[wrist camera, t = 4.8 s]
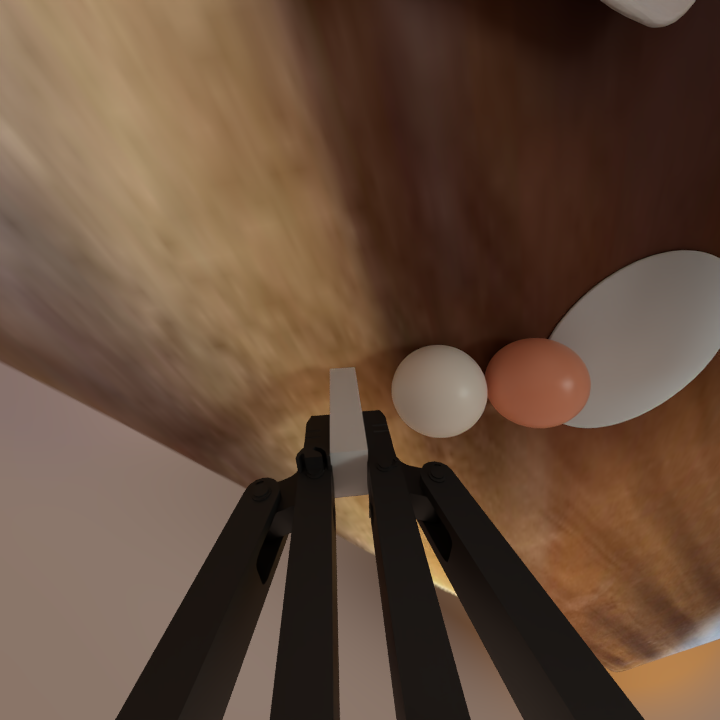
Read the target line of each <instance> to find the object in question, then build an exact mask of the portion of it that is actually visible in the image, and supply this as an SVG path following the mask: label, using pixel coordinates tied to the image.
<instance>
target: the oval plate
mask: <svg viewBox="0 0 720 720" xmlns="http://www.w3.org/2000/svg"><path fill="white" fill-rule="evenodd" d="M549 339H550V340H554V341H556V342H559V343H561V344H563V345H565V346H567V347H569V348H570V349H571V350H573V351H574V352H575V353H576V354H577V355H578V356H579V357H580V358H581V359H582V361H583V362H584V363H585V365H586V367H587V369H588V372H589V375H590V380H591V389H590V395H589V398H588V400H587V403H586V404H585V406H584V408H583V409H582V410H581V411H580V413H578V414H577V415H576V416H575V417H574V418H572V419H571V420H569V421H568V422H566V423H563V424H565V425H568V426H573V427H578V428H598V427H605V426H610V425H614V424H618V423H621V422H624V421H627V420H630V419H632V418H635V417H637V416H640V415H642V414H644V413H646V412H648V411H650V410H652V409H653V408H655V407H657V406H659V405H660V404H662V403H663V402H665V401H666V400H668V399H669V398H671V397H672V396H674V395H675V394H676V393H678V392H679V391H680V390H682V389H683V388H684V387H685V386H686V385H687V384H689V383H690V382H691V381H692V380H693V379H694V378H695V377H696V376H697V375H698V374H699V373H700V372H701V371H702V370H703V369H704V368H705V367H706V365H707V364H708V363H709V362H710V361H711V360H712V358H713V357H714V356H715V354H716V353H717V351H718V350H719V349H720V258H718V257H716V256H714V255H711V254H709V253H704V252H700V251H690V250H678V251H669V252H664V253H660V254H656V255H652V256H649V257H646V258H644V259H641V260H638V261H636V262H634V263H632V264H630V265H628V266H626V267H623V268H621V269H620V270H618V271H616V272H615V273H613V274H612V275H610V276H608V277H607V278H605V279H604V280H602V281H601V282H600V283H598V284H597V285H596V286H594V287H593V288H592V289H591V290H589V291H588V292H587V293H586V294H585V295H584V296H583V297H581V298H580V299H579V300H578V301H577V302H576V303H575V304H574V305H573V307H572V308H571V309H570V310H569V311H568V312H567V313H566V314H565V316H564V317H563V318H562V319H561V321H560V322H559V323H558V325H557V326H556V328H555V329H554V331H553V332H552V334H551V335H550V337H549Z"/></svg>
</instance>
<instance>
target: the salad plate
mask: <svg viewBox="0 0 720 720" xmlns="http://www.w3.org/2000/svg"><path fill="white" fill-rule="evenodd" d="M600 1H602V2H603V3H604V4H606V5H607V6H608V7H610V8H611V9H613V10H615V11H617V12H618V13H620V14H622V15H624V16H625V17H627V18H630V19H632V20H634V21H636V22H638V23H641V24H643V25H645V26H647V27H652V28H657V27H665V26H668V25H670V24H672V23H674V22H676V21H677V20H678V19H679V18H681V17H682V16H683V15H684V14H685V13H686V12H687V11H688V10H689V8H690V7H691V6H692V5H693V4H694V2H695V1H696V0H600Z"/></svg>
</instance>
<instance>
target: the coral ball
mask: <svg viewBox="0 0 720 720" xmlns="http://www.w3.org/2000/svg"><path fill="white" fill-rule="evenodd" d="M485 379H486V383H487V397H488V399H489V401H490V402H491V404H492V405H493V407H494V408H495V409H496V410H497V411H498V412H499V413H500V414H501V415H502V416H504V417H505V418H506V419H508V420H510V421H512V422H514V423H516V424H519V425H521V426H525V427H530V428H549V427H555V426H558V425H561V424H563V423H566V422H568V421H569V420H571V419H572V418H574V417H575V416H576V415H577V414H578V413H580V411H581V410H582V409H583V408H584V406H585V404H586V403H587V400H588V398H589V395H590V389H591V380H590V375H589V372H588V369H587V367H586V365H585V363H584V362H583V361H582V359H581V358H580V357H579V356H578V355H577V354H576V353H575V352H574V351H573V350H571V349H570V348H569V347H567V346H565V345H563V344H561V343H559V342H556V341H554V340H550V339H545V338H526V339H521V340H517V341H514V342H512V343H510V344H508V345H506V346H504V347H503V348H502V349H500V350H499V351H498V352H497V353H496V354H495V355H494V356H493V357H492V359H491V360H490V362H489V364H488V366H487V369H486V372H485Z"/></svg>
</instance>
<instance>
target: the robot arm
mask: <svg viewBox="0 0 720 720" xmlns="http://www.w3.org/2000/svg"><path fill="white" fill-rule="evenodd" d="M296 463H297V468H298V471H297V473H295V474H294V475H293V476H291V477H289V478H287V479H285V480H282V481H279V482H276V481H275V480H274V479H271V478H261V479H259V480H256V481H254V482H253V483H251V484H250V485H249V486H248V487H247V489H246V490H245V492H244V493H243V495H242V497H241V499H240V500H239V502H238V504H237V506H236V508H235V509H234V511H233V513H232V514H231V516H230V518H229V520H228V522H227V523H226V525H225V527H224V529H223V530H222V532H221V534H220V536H219V537H218V539H217V541H216V543H215V545H214V547H213V548H212V550H211V552H210V553H209V555H208V557H207V559H206V560H205V562H204V564H203V566H202V567H201V569H200V571H199V573H198V575H197V576H196V578H195V580H194V582H193V583H192V585H191V587H190V589H189V590H188V592H187V594H186V596H185V598H184V599H183V601H182V603H181V605H180V607H179V608H178V610H177V612H176V613H175V615H174V617H173V619H172V621H171V622H170V624H169V626H168V628H167V629H166V631H165V633H164V635H163V637H162V638H161V640H160V642H159V643H158V645H157V647H156V649H155V650H154V652H153V654H152V656H151V658H150V660H149V661H148V663H147V665H146V666H145V668H144V670H143V672H142V674H141V675H140V677H139V679H138V681H137V682H136V684H135V686H134V688H133V689H132V691H131V693H130V695H129V697H128V698H127V700H126V702H125V704H124V705H123V707H122V709H121V711H120V712H119V714H118V716H117V718H116V719H115V720H222V719H223V716H224V713H225V710H226V707H227V705H228V702H229V700H230V697H231V694H232V691H233V688H234V686H235V683H236V680H237V677H238V674H239V672H240V669H241V666H242V663H243V660H244V658H245V655H246V652H247V649H248V646H249V644H250V641H251V638H252V635H253V633H254V630H255V627H256V624H257V621H258V618H259V616H260V613H261V610H262V607H263V604H264V602H265V599H266V596H267V593H268V591H269V587H270V585H271V582H272V579H273V577H274V574H275V571H276V568H277V565H278V563H279V560H280V557H281V554H282V551H283V549H284V546H285V543H286V540H287V537H288V534H289V533H291V541H290V550H289V559H288V568H287V576H286V585H285V594H284V602H283V610H282V620H281V628H280V636H279V646H278V654H277V662H276V671H275V680H274V688H273V697H272V705H271V714H270V720H340V707H339V705H340V704H339V657H338V612H337V610H338V609H337V565H336V564H337V563H336V513H335V498H338V497H348V496H358V495H368V494H369V518H371V524H372V532H373V540H374V548H375V555H376V563H377V571H378V579H379V587H380V594H381V602H382V610H383V617H384V626H385V633H386V641H387V649H388V656H389V664H390V671H391V680H392V688H393V696H394V703H395V711H396V719H397V720H471V719H470V716H469V712H468V708H467V705H466V701H465V698H464V694H463V690H462V687H461V683H460V679H459V675H458V672H457V669H456V664H455V661H454V657H453V653H452V650H451V646H450V643H449V639H448V635H447V631H446V628H445V624H444V621H443V617H442V613H441V610H440V606H439V602H438V599H437V595H436V591H435V588H434V584H433V580H432V577H431V573H430V569H429V566H428V562H427V558H426V555H425V551H424V547H423V544H422V540H421V536H420V533H419V529H418V525H417V522H416V519H417V521H418V523H419V525H420V527H421V528H422V530H423V532H424V534H425V536H426V538H427V540H428V542H429V543H430V545H431V547H432V549H433V551H434V553H435V555H436V556H437V558H438V560H439V562H440V564H441V566H442V568H443V570H444V571H445V573H446V575H447V577H448V579H449V581H450V583H451V584H452V586H453V588H454V590H455V592H456V594H457V596H458V598H459V599H460V601H461V603H462V605H463V607H464V609H465V611H466V612H467V614H468V616H469V618H470V620H471V622H472V624H473V625H474V627H475V629H476V631H477V633H478V635H479V637H480V639H481V640H482V642H483V644H484V646H485V648H486V650H487V652H488V653H489V655H490V657H491V659H492V661H493V663H494V665H495V667H496V668H497V670H498V672H499V674H500V676H501V678H502V680H503V681H504V683H505V685H506V687H507V689H508V691H509V693H510V695H511V696H512V698H513V700H514V702H515V704H516V706H517V708H518V710H519V711H520V713H521V715H522V717H523V719H524V720H644V718H643V717H642V716H641V714H640V713H639V712H638V711H637V709H636V708H635V707H634V706H633V704H632V703H631V701H630V700H629V699H628V698H627V696H626V695H625V694H624V692H623V691H622V690H621V688H620V687H619V686H618V685H617V683H616V682H615V681H614V679H613V678H612V677H611V676H610V674H609V673H608V672H607V671H606V669H605V668H604V666H603V665H602V664H601V663H600V661H599V660H598V659H597V657H596V656H595V655H594V654H593V652H592V651H591V650H590V648H589V647H588V646H587V644H586V643H585V642H584V641H583V639H582V638H581V637H580V635H579V634H578V633H577V632H576V630H575V629H574V628H573V626H572V625H571V624H570V622H569V621H568V620H567V619H566V617H565V616H564V615H563V613H562V612H561V611H560V610H559V608H558V607H557V606H556V604H555V603H554V602H553V600H552V599H551V598H550V597H549V595H548V594H547V593H546V591H545V590H544V589H543V588H542V586H541V585H540V584H539V582H538V581H537V580H536V578H535V577H534V576H533V575H532V573H531V572H530V571H529V569H528V568H527V567H526V566H525V564H524V563H523V562H522V560H521V559H520V558H519V556H518V555H517V554H516V553H515V551H514V550H513V549H512V547H511V546H510V545H509V544H508V542H507V541H506V540H505V538H504V537H503V536H502V534H501V533H500V532H499V531H498V529H497V528H496V527H495V525H494V524H493V523H492V522H491V520H490V519H489V518H488V516H487V515H486V514H485V512H484V511H483V510H482V509H481V507H480V506H479V505H478V503H477V502H476V501H475V500H474V498H473V497H472V496H471V494H470V493H469V492H468V490H467V489H466V488H465V487H464V485H463V484H462V483H461V481H460V480H459V479H458V478H457V476H456V475H455V474H454V472H453V471H452V470H451V469H450V468H449V467H448V466H447V465H445V464H443V463H440V462H435V461H434V462H428V463H426V464H424V465H423V467H422V468H418V467H413V466H409V465H406V464H404V463H402V462H401V461H400V460H399V459H398V458H397V457H396V454H395V452H394V448H393V444H392V440H391V437H390V433H389V429H388V425H387V421H386V418H385V416H384V415H383V413H382V412H381V411H380V410H376V411H363V412H362V409H361V403H360V397H359V390H358V384H357V377H356V371H355V367H350V368H335V369H330V415H319V416H311V418H310V419H309V420H308V422H307V424H306V433H305V443H304V448H303V449H301V451H300V452H299V453H298V454H297V457H296Z"/></svg>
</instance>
